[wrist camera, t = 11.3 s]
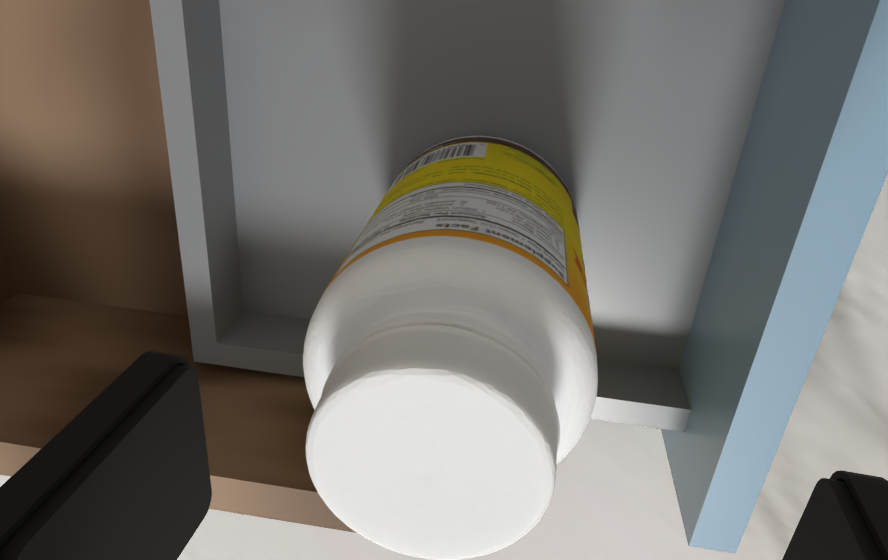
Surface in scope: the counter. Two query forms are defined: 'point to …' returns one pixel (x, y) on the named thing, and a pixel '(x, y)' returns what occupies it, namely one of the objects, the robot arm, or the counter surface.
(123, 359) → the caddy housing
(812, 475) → the counter surface
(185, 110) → the tray
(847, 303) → the counter surface
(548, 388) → the supplement bottle
